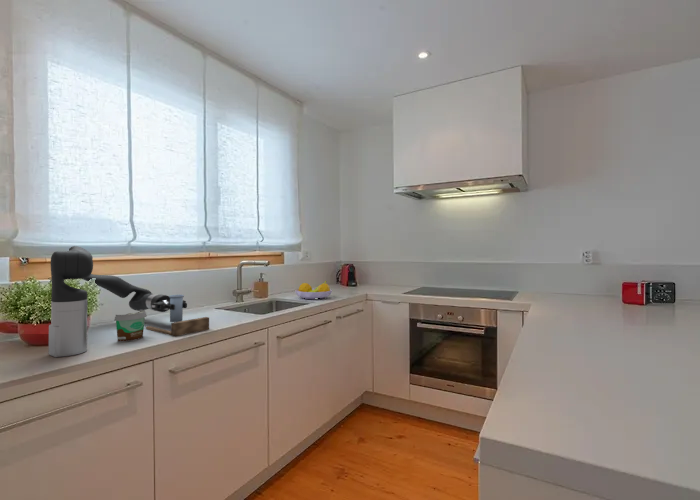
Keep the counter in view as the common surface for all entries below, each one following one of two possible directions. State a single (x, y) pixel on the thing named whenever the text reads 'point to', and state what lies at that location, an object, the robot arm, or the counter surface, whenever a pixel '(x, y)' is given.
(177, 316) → the block
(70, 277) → the robot arm
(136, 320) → the food container
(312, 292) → the fruit bowl
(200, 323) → the channel
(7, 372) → the counter surface
